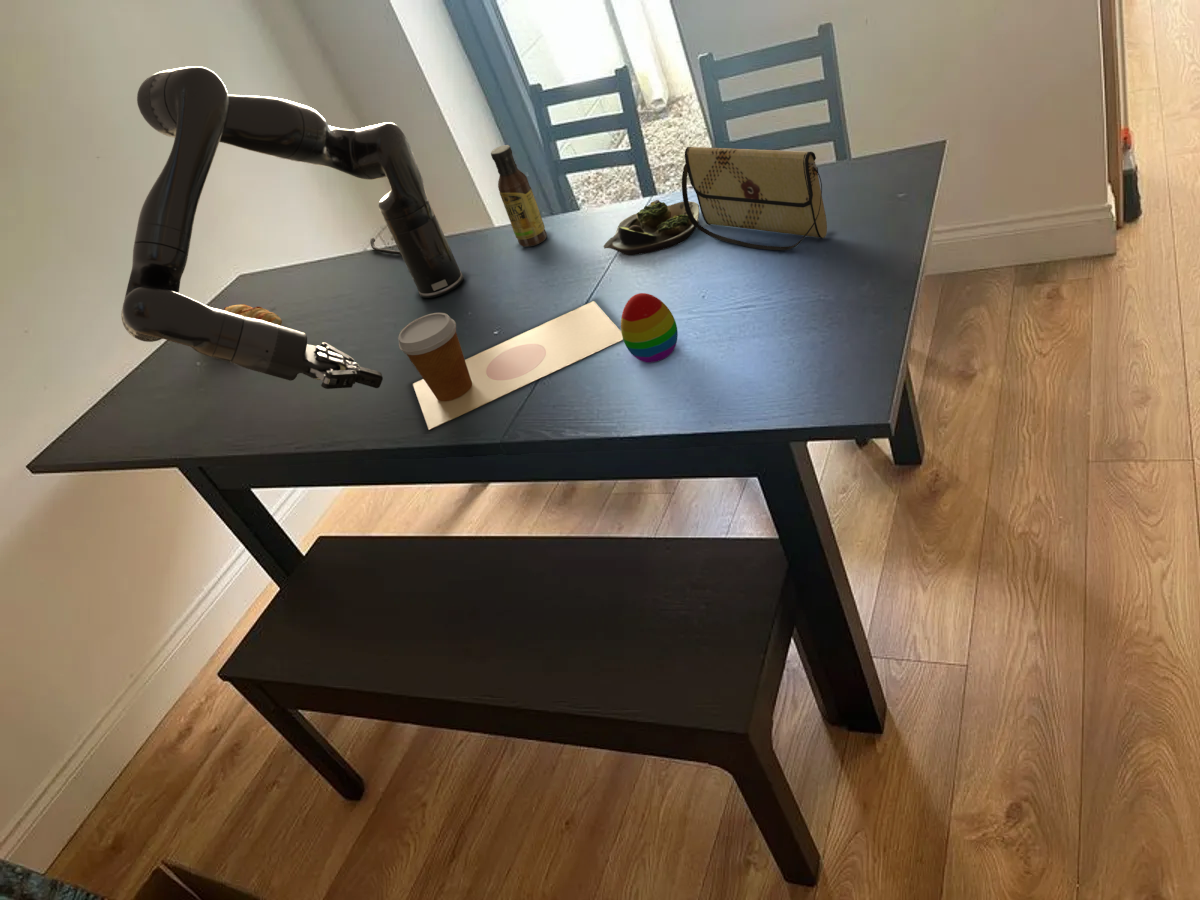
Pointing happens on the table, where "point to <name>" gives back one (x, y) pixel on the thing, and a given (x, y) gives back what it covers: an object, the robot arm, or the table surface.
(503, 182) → the sauce bottle
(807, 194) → the clutch purse
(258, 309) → the croissant
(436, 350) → the disposable coffee cup
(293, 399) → the table surface
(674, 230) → the salad plate
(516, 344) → the placemat
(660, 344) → the decorative egg
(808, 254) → the table surface
